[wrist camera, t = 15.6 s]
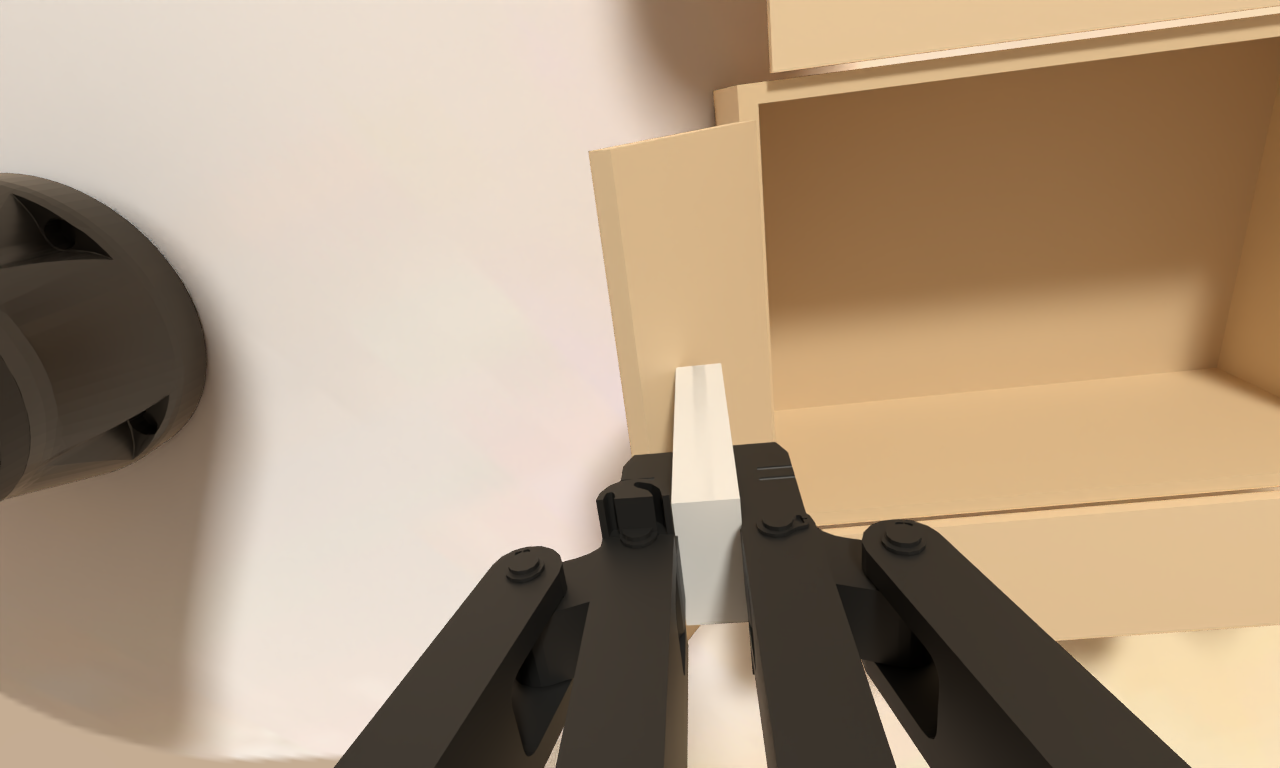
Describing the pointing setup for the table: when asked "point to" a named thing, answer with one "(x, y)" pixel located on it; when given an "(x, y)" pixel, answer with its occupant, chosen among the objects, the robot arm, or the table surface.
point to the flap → (685, 276)
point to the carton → (1033, 294)
